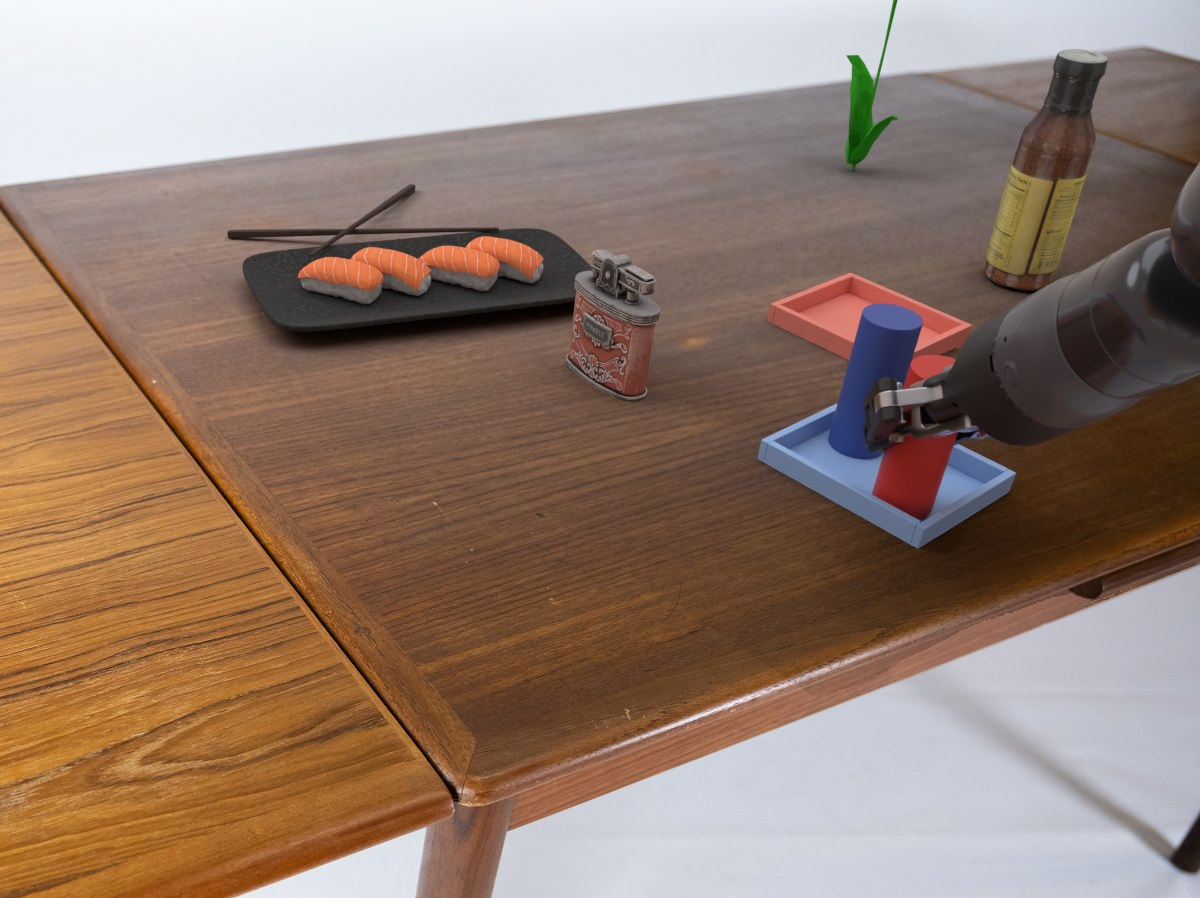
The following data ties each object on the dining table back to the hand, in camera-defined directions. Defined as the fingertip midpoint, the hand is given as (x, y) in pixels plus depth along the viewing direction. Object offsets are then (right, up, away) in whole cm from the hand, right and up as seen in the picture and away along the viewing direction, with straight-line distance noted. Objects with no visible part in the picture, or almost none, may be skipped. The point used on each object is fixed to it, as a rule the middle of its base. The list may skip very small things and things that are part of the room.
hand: (904, 435), depth 84 cm
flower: (+12, +35, +55) cm, 66 cm away
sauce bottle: (+21, +18, +34) cm, 44 cm away
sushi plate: (-35, +19, +29) cm, 50 cm away
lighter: (-18, +5, +13) cm, 23 cm away
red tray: (+4, +11, +22) cm, 25 cm away
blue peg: (-1, 0, +7) cm, 7 cm away
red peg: (0, -4, +1) cm, 4 cm away
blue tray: (0, -3, +5) cm, 5 cm away
